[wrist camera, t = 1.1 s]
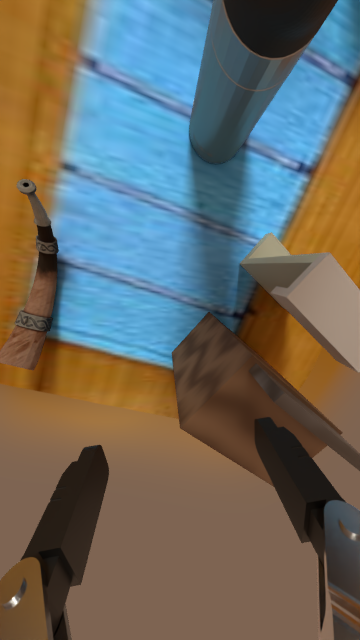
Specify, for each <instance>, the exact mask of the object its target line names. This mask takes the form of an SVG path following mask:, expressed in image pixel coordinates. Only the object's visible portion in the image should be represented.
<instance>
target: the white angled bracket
mask: <svg viewBox="0 0 360 640" xmlns="http://www.w3.org/2000/svg"><path fill="white" fill-rule="evenodd" d="M240 265H241V266H242V267H243V268H244V269H245V270H246V271H247V272H248V273H249V274H250V275H251V276H252V277H253V278H254V279H255V280H256V281H257V282H258V283H259V284H260V285H261V286H262V287H263V288H264V289H265V290H266V291H267V292H268V293H269V294H270V295H271V296H272V297H273V298H274V299H275V300H276V301H277V302H278V303H279V304H280V305H281V306H282V307H283V308H284V309H286V310H287V311H288V312H289V313H290V314H291V315H292V316H293V317H294V318H295V319H296V320H297V321H298V322H299V323H300V324H301V325H302V326H303V327H304V328H305V329H306V330H307V331H308V332H309V333H310V334H311V335H312V336H313V337H314V338H315V339H316V340H317V341H318V342H319V343H320V344H321V345H322V346H323V347H324V348H325V349H326V350H327V351H328V352H329V353H330V354H331V355H332V356H333V357H334V359H335V360H337V361H338V362H340V363H342V364H344V365H346V366H347V367H349V368H351V369H353V370H355V371H357V372H360V290H359V289H358V287H357V286H356V285H355V284H354V282H353V281H352V280H351V279H350V277H349V276H348V275H347V274H346V272H345V271H344V270H343V269H342V267H341V266H340V265H339V264H338V262H337V261H336V260H335V258H334V257H333V256H332V255H331V253H317V254H304V255H291V254H290V253H289V252H288V251H287V250H286V248H285V247H284V246H283V245H282V244H281V243H280V242H279V240H278V239H277V238H276V237H275V236H274V235H273V234H272V232H271V233H268V234H265V236H264V237H263V238H262V239H261V240H260V241H259V242H258V243H257V245H256V246H255V247H254V248H253V249H252V250H251V251H250V252H249V254H248V255H247V256H246V257H245V258H244V259H243V260H242V261H241V263H240Z"/></svg>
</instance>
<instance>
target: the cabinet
mask: <svg viewBox="0 0 360 640" xmlns="http://www.w3.org/2000/svg"><path fill="white" fill-rule="evenodd" d="M172 358H173V367H174V376H175V386H176V395H177V404H178V413H179V422H180V428H181V429H183V430H184V431H186V432H187V433H189V434H190V435H192V436H194V437H195V438H197V439H198V440H200V441H202V442H203V443H205V444H207V445H208V446H210V447H211V448H213V449H214V450H216V451H218V452H219V453H221V454H222V455H224V456H226V457H227V458H229V459H231V460H232V461H234V462H235V463H237V464H238V465H240V466H242V467H243V468H245V469H247V470H248V471H250V472H251V473H253V474H255V475H256V476H258V477H259V478H261V479H262V480H264V481H266V482H267V483H269V484H270V485H272V486H274V485H273V483H272V481H271V479H270V477H269V475H268V473H267V471H266V469H265V467H264V465H263V463H262V461H261V458H260V456H259V454H258V452H257V449H256V445H255V431H254V421H255V419H258V418H264V417H270V418H271V419H272V420H273V421H274V423H275V424H276V426H277V427H283V426H284V427H285V428H286V429H288V430H289V431H290V432H291V433H293V434H294V435H295V436H296V438H297V439H298V440H299V442H300V443H301V444H302V446H303V448H305V450H306V451H307V452H308V454H309V456H310V457H311V458H313V457H314V456H315V455H316V454H317V453H319V452H320V451H321V450H322V449H324V448H325V447H326V446H327V445H328V446H329V447H330V448H332V449H333V450H334V451H336V452H337V453H338V454H339V455H341V456H342V457H343V458H344V459H346V460H347V461H348V462H349V463H351V464H352V465H353V466H354V467H355V468H357V469H358V470H359V471H360V454H359V453H358V452H357V451H356V450H355V449H354V448H353V447H352V446H351V445H350V444H349V443H348V442H347V441H346V440H345V439H344V438H343V437H342V436H341V434H342V432H341V431H340V430H339V429H338V428H337V427H336V426H335V425H334V424H333V423H332V422H331V421H329V420H328V419H327V418H326V417H325V416H324V415H323V414H322V413H321V412H320V411H319V410H318V409H317V408H316V407H314V406H313V405H312V404H311V403H310V402H309V401H308V400H307V399H306V398H305V397H304V396H303V395H302V394H300V393H299V392H298V391H297V390H296V389H295V388H294V387H293V386H292V385H291V384H290V383H289V382H288V381H287V380H285V379H284V378H283V377H282V376H281V375H280V374H279V373H278V372H277V371H276V370H275V369H274V368H273V367H271V366H270V365H269V364H268V363H267V362H266V361H265V360H264V359H263V358H262V357H260V356H259V355H258V354H257V353H256V352H255V351H254V350H252V349H251V348H250V347H249V346H248V345H247V344H246V343H244V342H243V341H242V340H241V339H240V338H239V337H237V336H236V335H235V334H234V333H233V332H232V331H231V330H229V329H228V328H227V327H226V326H225V325H224V324H223V323H221V322H220V321H219V320H218V319H217V318H216V317H215V316H213V315H212V314H211V313H210V312H208V313H207V315H206V316H205V317H204V318H203V319H202V320H201V321H200V322H199V323H198V324H197V326H196V327H195V328H194V329H193V330H192V331H191V332H190V333H189V334H188V336H187V337H186V338H185V339H184V340H183V341H182V342H181V343H180V344H179V345H178V347H177V348H176V349H175V350H174V351H173V352H172Z"/></svg>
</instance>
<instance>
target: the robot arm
mask: <svg viewBox="0 0 360 640" xmlns="http://www.w3.org/2000/svg"><path fill="white" fill-rule="evenodd" d="M337 1H338V0H213V4H212V10H211V15H210V20H209V25H208V30H207V36H206V41H205V46H204V51H203V56H202V61H201V67H200V72H199V77H198V82H197V87H196V92H195V98H194V102H193V108H192V113H191V118H190V125H189V132H190V139H191V143H192V145H193V147H194V150H195V151H196V152H197V154H198V155H199V156H200V157H201V158H202V159H204V160H205V161H207V162H210V163H213V164H220V163H224V162H226V161H228V160H230V159H231V158H232V157H234V156H235V154H236V153H237V152H238V151H239V149H240V148H241V146H242V145H243V143H244V142H245V140H246V139H247V137H248V136H249V134H250V133H251V131H252V130H253V128H254V127H255V125H256V124H257V122H258V121H259V119H260V118H261V116H262V115H263V113H264V112H265V110H266V109H267V107H268V106H269V104H270V102H271V101H272V99H273V98H274V96H275V95H276V93H277V92H278V90H279V89H280V87H281V86H282V84H283V83H284V81H285V80H286V78H287V77H288V75H289V74H290V72H291V71H292V69H293V68H294V66H295V65H296V63H297V61H298V60H299V58H300V57H301V55H302V54H303V52H304V51H305V49H306V48H307V46H308V45H309V43H310V42H311V40H312V39H313V37H314V36H315V34H316V33H317V32H318V30H319V29H320V27H321V26H322V24H323V23H324V21H325V20H326V18H327V16H328V15H329V13H330V12H331V10H332V9H333V7H334V6H335V4H336V2H337ZM254 431H255V445H256V449H257V452H258V454H259V456H260V458H261V461H262V463H263V465H264V467H265V469H266V471H267V473H268V475H269V477H270V479H271V481H272V483H273V485H274V487H275V489H276V491H277V493H278V495H279V497H280V499H281V502H282V503H283V505H284V508H285V510H286V512H287V514H288V516H289V518H290V520H291V522H292V524H293V526H294V528H295V530H296V532H297V534H298V536H299V539H300V541H301V543H304V542H309V541H311V543H312V545H313V547H314V549H315V551H316V553H317V586H318V587H317V589H318V590H317V591H318V640H360V511H359V510H358V509H356V508H355V507H353V506H352V505H350V504H348V503H346V502H345V501H344V500H343V499H342V498H341V497H340V495H339V494H338V493H337V491H336V490H335V489H334V487H333V486H332V485H331V483H330V482H329V481H328V479H327V478H326V476H325V475H324V474H323V473H322V471H321V470H320V469H319V467H318V466H317V464H316V463H315V462H314V460H313V459H312V458H311V457H310V456H309V454H308V452H307V451H306V450H305V448H303V446H302V444H301V443H300V442H299V440H298V439H297V438H296V436H295V435H294V434H293V433H291V432H290V431H289V430H288V429H286V428H285V427H284V426H283V427H277V426H276V424H275V423H274V421H273V420H272V419H271V418H270V417H264V418H258V419H255V421H254ZM108 475H109V468H108V463H107V460H106V458H105V455H104V452H103V449H102V446H101V445H96V446H89V447H85V448H84V449H83V450H82V452H81V454H80V456H79V459H78V461H75V462H72V463H71V464H70V466H69V467H68V468H67V469H66V470H65V472H64V473H63V474H62V476H61V479H60V480H59V483H58V485H57V487H56V490H55V491H54V493H53V495H52V497H51V499H50V500H51V501H50V503H49V504H48V506H47V508H46V510H45V512H44V514H43V516H42V518H41V520H40V522H39V524H38V527H37V529H36V531H35V533H34V535H33V537H32V539H31V541H30V543H29V545H28V547H27V549H26V551H25V553H24V555H23V557H22V559H21V560H20V562H18V563H17V564H16V565H14V566H13V567H12V568H11V569H10V570H9V571H8V572H7V573H6V574H5V575H4V576H3V577H2V579H1V580H0V640H72V638H71V632H70V626H69V620H68V615H67V609H66V604H65V602H66V599H67V595H68V592H69V588H70V587H71V586H76V585H81V582H82V578H83V574H84V570H85V567H86V563H87V559H88V555H89V551H90V547H91V543H92V539H93V535H94V532H95V528H96V524H97V520H98V516H99V512H100V509H101V505H102V501H103V497H104V493H105V489H106V485H107V481H108Z"/></svg>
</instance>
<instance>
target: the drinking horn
mask: <svg viewBox="0 0 360 640" xmlns="http://www.w3.org/2000/svg"><path fill="white" fill-rule="evenodd" d="M17 188H18V189H19V191H20V192H21V193H23V194H27V196H28V198H29V200H30V203H31V205H32V208H33V212H34V216H35V219H34V223H35V224H36V225H37V228H38V235H37V236H36V248H37V250H38V251H39V259H38V266H37V272H36V276H35V280H34V284H33V287H32V290H31V293H30V296H29V299H28V301H27V304H26V306H25V308H24V311H20V313H19V315H18V317H17V319H16V321H15V324H16V327H15V328H14V330H13V332H12V334H11V335H10V337H9V339H8V340H7V342H6V343H5V345H4V346H3V348H2V349H1V351H0V363H4V364H8V365H13V366H17V367H21V368H25V369H30V370H34V369H35V367H36V365H37V362H38V360H39V357H40V354H41V351H42V348H43V345H44V341H45V338H46V334H47V332H49V331H50V328H51V324H52V320H53V318H52V317H51V315H52V310H53V305H54V300H55V293H56V285H57V254H56V253H58V252H59V250H58V244H57V239H56V238H55V237H54V236H53V232H52V228H51V225H50V224H51V221H50V220H49V218H48V217H47V214H46V211H45V209H44V208H43V206H42V204H41V202H40V201H39V199H38V197H37V196H36V194H35V192H36V186H35V184H34V183H33V182H32V181H30V180H27V179H22V180H20V181H18V182H17Z"/></svg>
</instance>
